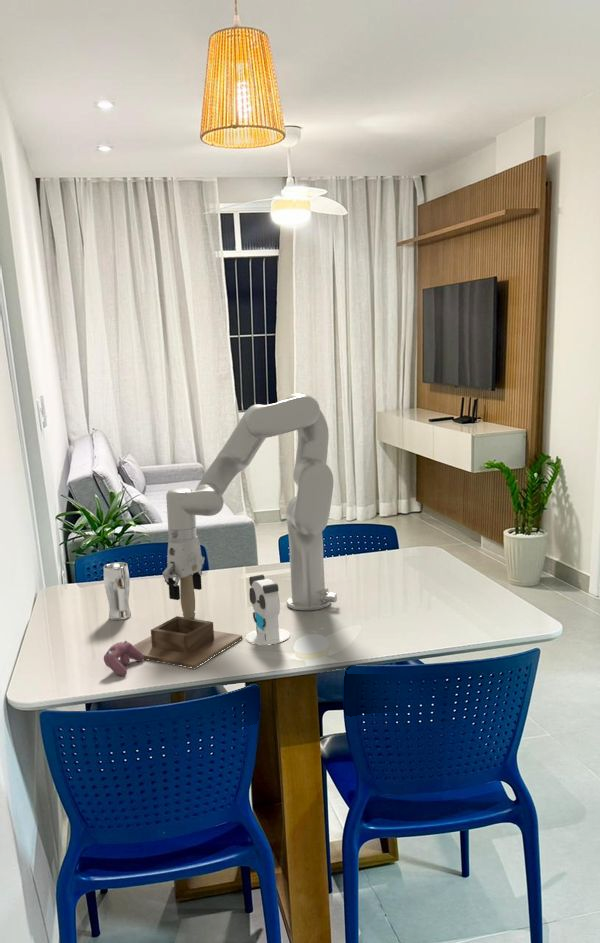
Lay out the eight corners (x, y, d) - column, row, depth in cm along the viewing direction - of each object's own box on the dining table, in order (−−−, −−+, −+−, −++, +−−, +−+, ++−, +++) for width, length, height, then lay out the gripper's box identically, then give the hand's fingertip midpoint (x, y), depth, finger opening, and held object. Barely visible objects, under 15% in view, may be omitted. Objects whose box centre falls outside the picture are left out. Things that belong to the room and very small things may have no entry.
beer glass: (137, 614, 217) (133, 563, 214) (122, 622, 210) (117, 569, 208) (118, 611, 220) (113, 561, 217) (102, 619, 213) (97, 568, 211)
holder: (242, 639, 194) (241, 618, 193) (194, 669, 177) (193, 646, 176) (174, 627, 204) (172, 607, 204) (122, 654, 187) (121, 633, 186)
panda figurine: (238, 633, 198) (234, 577, 196) (278, 625, 202) (275, 570, 200) (255, 648, 187) (251, 590, 185) (297, 639, 192) (294, 582, 189)
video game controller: (132, 665, 185) (118, 640, 185) (146, 658, 183) (132, 632, 183) (111, 682, 175) (96, 656, 175) (126, 675, 174) (111, 648, 174)
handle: (202, 618, 210) (198, 565, 208) (178, 621, 209) (174, 568, 206) (199, 612, 215) (195, 561, 213) (176, 616, 213) (172, 564, 211)
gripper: (173, 542, 199) (177, 605, 201) (212, 528, 214) (215, 586, 216) (151, 539, 202) (154, 601, 205) (190, 525, 217) (193, 583, 220)
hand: (185, 594), depth 211 cm, fingers open, 9 cm apart
